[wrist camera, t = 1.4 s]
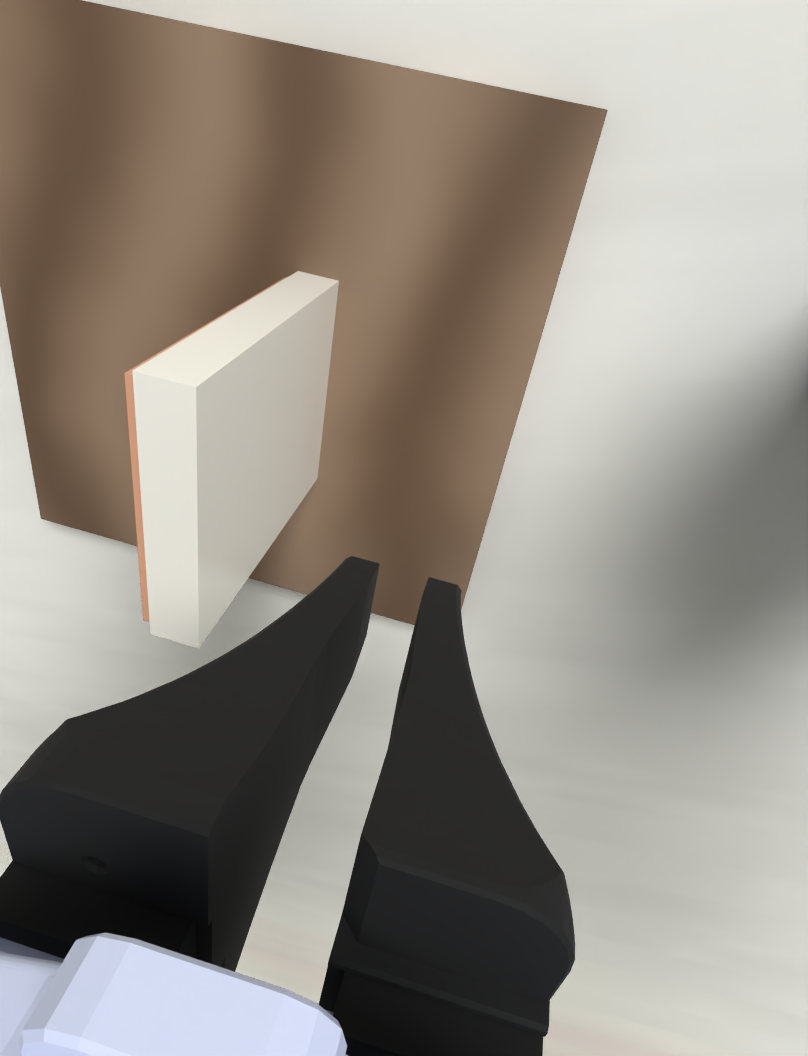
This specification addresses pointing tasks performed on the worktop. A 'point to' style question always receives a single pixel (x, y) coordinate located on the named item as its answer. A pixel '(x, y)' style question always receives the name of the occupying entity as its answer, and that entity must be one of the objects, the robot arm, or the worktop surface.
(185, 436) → the glazed tile
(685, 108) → the worktop surface
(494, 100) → the walnut board
